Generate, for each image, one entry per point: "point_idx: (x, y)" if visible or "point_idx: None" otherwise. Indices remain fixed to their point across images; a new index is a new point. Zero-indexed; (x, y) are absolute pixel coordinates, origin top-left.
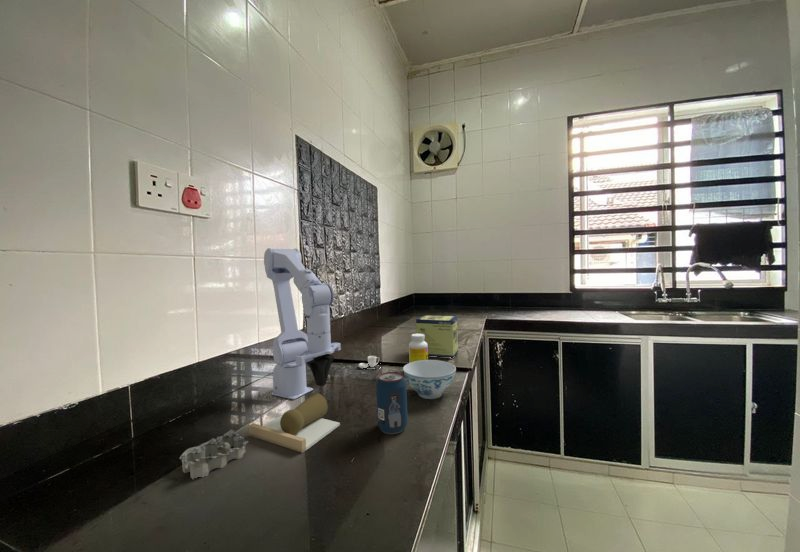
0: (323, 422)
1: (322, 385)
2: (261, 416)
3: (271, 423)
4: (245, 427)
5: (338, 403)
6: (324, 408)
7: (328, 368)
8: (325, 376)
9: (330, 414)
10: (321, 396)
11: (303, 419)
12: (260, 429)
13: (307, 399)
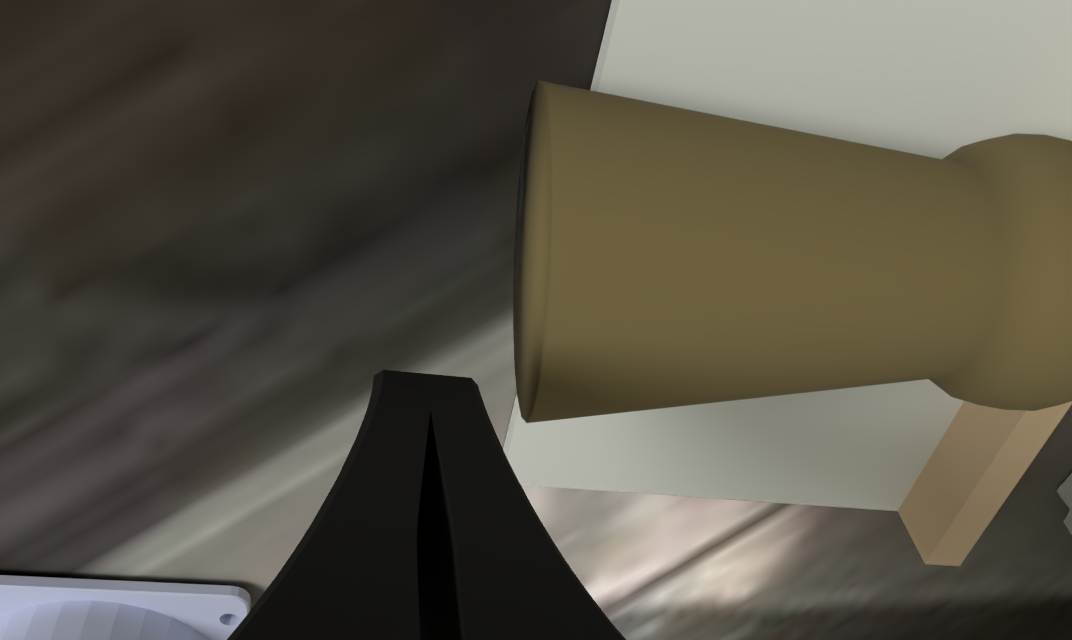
0: (700, 10)
1: (472, 386)
2: (613, 605)
3: (767, 473)
4: (796, 589)
5: (77, 125)
6: (612, 109)
7: (337, 583)
8: (420, 474)
9: (409, 63)
10: (576, 259)
11: (1033, 170)
12: (1027, 457)
13: (720, 374)
